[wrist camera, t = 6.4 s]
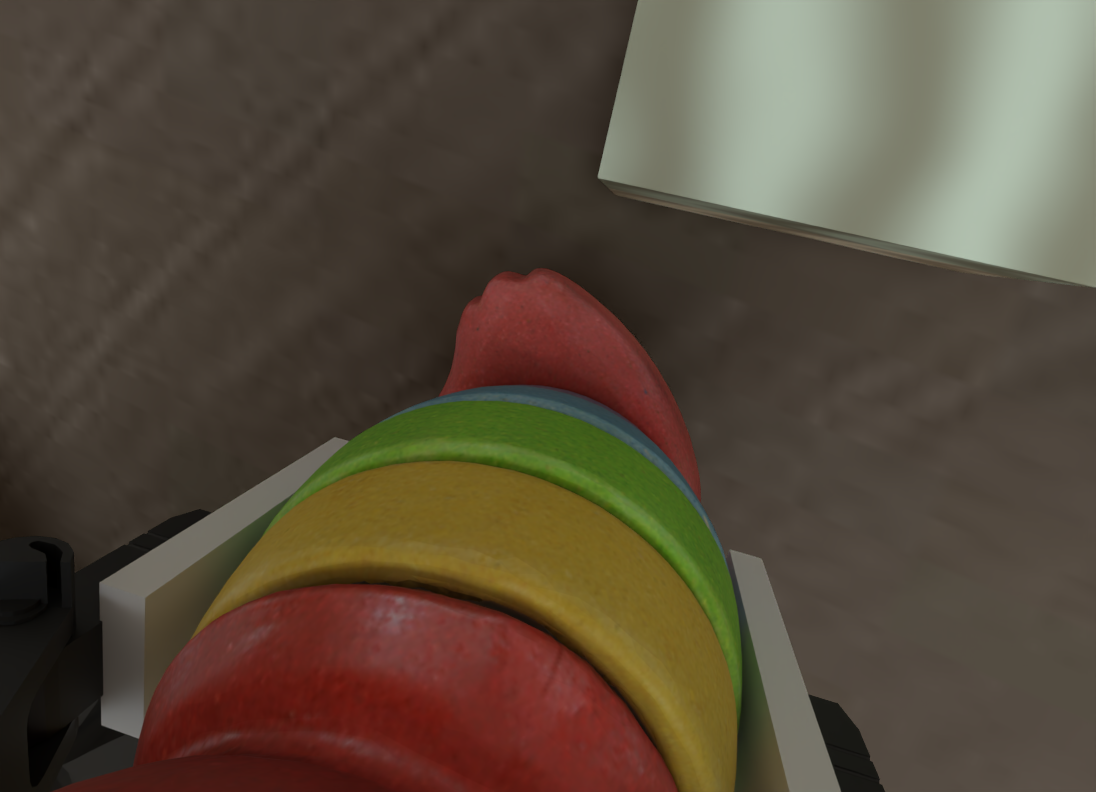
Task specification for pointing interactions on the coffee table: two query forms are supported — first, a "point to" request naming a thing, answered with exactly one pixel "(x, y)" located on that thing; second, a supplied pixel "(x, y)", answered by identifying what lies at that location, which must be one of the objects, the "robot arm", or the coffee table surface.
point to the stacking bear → (476, 592)
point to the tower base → (871, 126)
